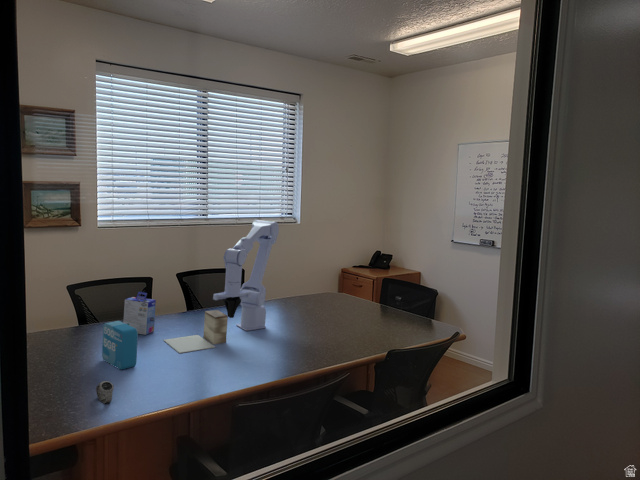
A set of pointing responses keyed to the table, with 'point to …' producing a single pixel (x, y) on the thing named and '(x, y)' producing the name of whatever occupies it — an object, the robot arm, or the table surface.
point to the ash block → (215, 327)
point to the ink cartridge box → (140, 313)
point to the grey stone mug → (105, 391)
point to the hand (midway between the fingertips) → (230, 317)
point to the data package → (119, 344)
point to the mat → (189, 343)
